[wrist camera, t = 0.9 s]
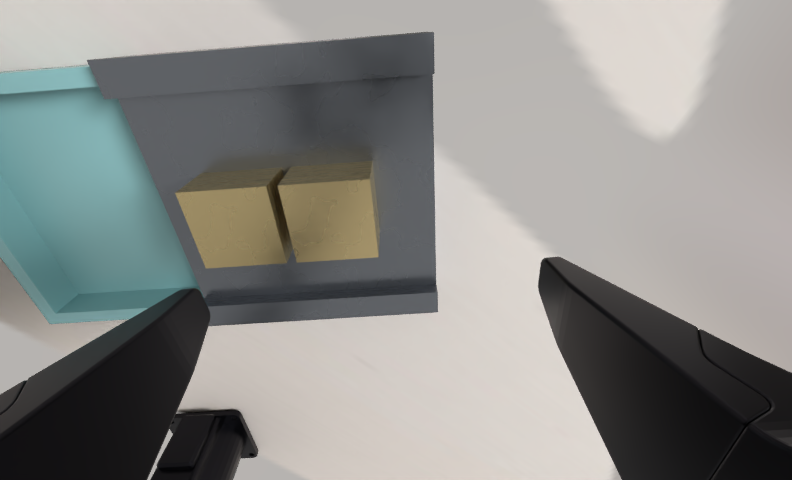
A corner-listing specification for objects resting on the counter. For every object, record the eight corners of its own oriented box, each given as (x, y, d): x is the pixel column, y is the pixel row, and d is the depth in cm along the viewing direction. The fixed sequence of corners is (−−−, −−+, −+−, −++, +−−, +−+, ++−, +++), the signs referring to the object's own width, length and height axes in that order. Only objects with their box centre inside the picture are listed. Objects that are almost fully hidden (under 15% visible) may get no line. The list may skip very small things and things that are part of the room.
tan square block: (380, 232, 20) (378, 257, 17) (307, 237, 20) (296, 262, 18) (372, 161, 18) (369, 179, 15) (291, 166, 18) (277, 185, 16)
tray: (222, 289, 25) (206, 314, 22) (79, 298, 25) (50, 324, 23) (132, 61, 18) (96, 65, 15) (-66, 77, 18) (-130, 83, 16)
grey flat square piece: (432, 279, 24) (437, 312, 21) (228, 292, 25) (206, 326, 22) (426, 32, 17) (433, 31, 14) (136, 55, 17) (86, 60, 15)
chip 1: (298, 237, 20) (286, 263, 18) (226, 242, 20) (205, 268, 18) (281, 167, 18) (266, 186, 16) (201, 173, 18) (175, 192, 16)
